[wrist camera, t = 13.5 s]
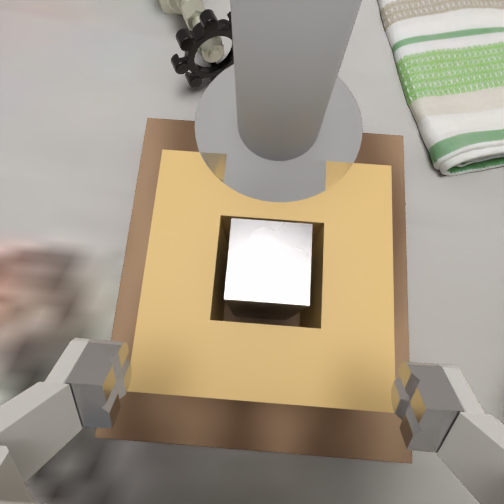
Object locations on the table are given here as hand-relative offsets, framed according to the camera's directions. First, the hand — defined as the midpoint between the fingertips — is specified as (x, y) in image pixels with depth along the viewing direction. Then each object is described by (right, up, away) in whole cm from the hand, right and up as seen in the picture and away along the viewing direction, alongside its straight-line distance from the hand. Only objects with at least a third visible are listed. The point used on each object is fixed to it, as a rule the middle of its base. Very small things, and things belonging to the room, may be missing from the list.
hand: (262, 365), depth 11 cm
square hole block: (+1, +4, +15) cm, 16 cm away
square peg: (0, +1, +15) cm, 14 cm away
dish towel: (+20, +21, +22) cm, 37 cm away
